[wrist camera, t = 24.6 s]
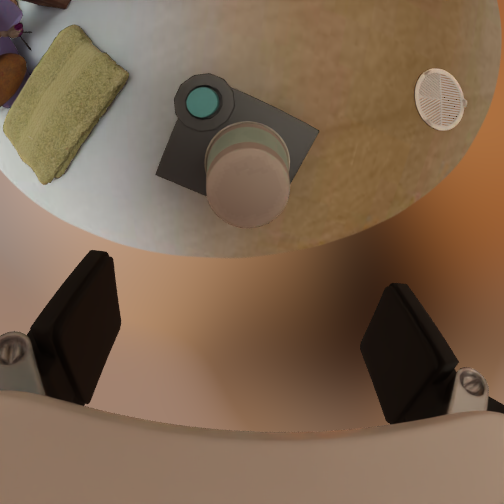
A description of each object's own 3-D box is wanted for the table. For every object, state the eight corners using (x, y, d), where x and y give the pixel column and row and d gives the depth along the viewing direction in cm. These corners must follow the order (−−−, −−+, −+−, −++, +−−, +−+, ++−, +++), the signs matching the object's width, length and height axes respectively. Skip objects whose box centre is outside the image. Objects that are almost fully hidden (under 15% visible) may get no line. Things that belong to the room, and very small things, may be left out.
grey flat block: (152, 168, 33) (143, 175, 30) (195, 69, 28) (189, 65, 25) (267, 217, 37) (269, 229, 34) (317, 125, 31) (325, 128, 28)
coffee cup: (290, 256, 23) (275, 205, 34) (324, 146, 19) (296, 131, 30) (177, 233, 22) (200, 189, 33) (199, 116, 18) (216, 113, 29)
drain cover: (463, 132, 31) (467, 133, 30) (415, 128, 31) (419, 129, 30) (461, 74, 27) (466, 74, 26) (412, 64, 27) (416, 63, 26)
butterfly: (18, 64, 28) (36, 100, 30) (-20, 85, 25) (-5, 124, 26) (22, -39, 12) (39, -18, 13) (-30, -19, 8) (-24, 8, 10)
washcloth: (5, 128, 29) (-9, 132, 26) (77, 21, 23) (64, 17, 20) (58, 187, 33) (45, 194, 30) (141, 80, 28) (131, 78, 25)
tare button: (184, 110, 28) (181, 110, 26) (197, 83, 26) (194, 82, 25) (211, 121, 28) (209, 122, 27) (224, 94, 27) (223, 94, 25)
